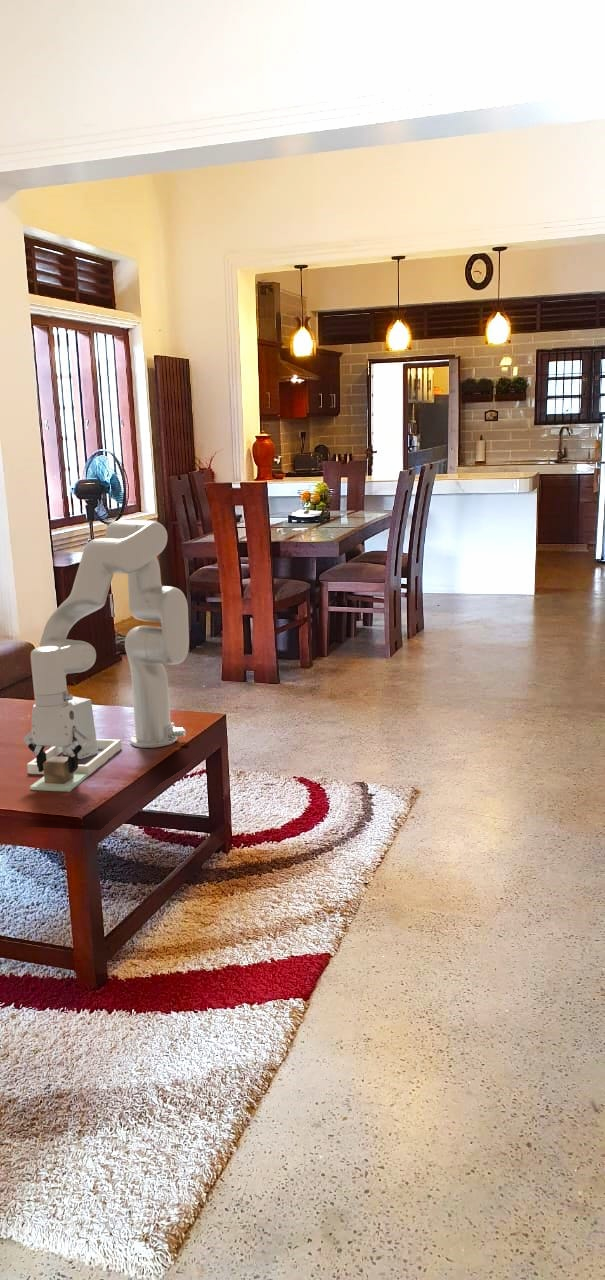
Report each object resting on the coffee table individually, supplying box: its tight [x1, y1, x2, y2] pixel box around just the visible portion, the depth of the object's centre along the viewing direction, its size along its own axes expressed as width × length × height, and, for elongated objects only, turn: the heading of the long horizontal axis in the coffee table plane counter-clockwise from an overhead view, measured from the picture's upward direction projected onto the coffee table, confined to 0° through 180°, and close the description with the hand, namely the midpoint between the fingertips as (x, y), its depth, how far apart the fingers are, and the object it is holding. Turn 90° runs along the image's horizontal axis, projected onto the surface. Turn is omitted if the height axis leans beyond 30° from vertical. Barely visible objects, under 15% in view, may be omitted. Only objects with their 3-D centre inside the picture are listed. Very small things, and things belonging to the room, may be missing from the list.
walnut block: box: [43, 755, 74, 784], centre depth 228 cm, size 5×5×5 cm
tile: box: [29, 773, 89, 792], centre depth 229 cm, size 10×10×1 cm
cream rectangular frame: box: [26, 738, 122, 777], centre depth 245 cm, size 16×21×2 cm
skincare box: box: [62, 695, 99, 760], centre depth 248 cm, size 8×6×15 cm
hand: (58, 770), depth 228 cm, fingers open, 7 cm apart
